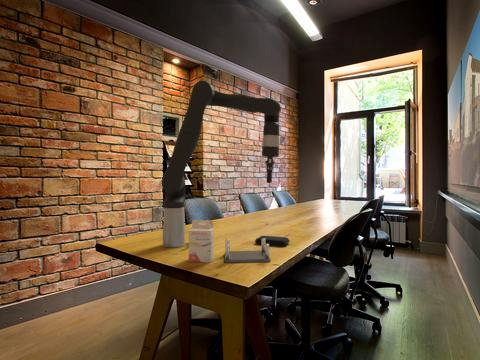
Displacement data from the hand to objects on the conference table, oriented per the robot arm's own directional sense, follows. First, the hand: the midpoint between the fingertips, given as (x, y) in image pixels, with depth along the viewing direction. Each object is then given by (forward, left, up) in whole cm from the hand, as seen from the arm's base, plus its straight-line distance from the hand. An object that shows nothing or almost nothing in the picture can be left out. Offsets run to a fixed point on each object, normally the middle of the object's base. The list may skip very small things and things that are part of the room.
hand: (269, 182), depth 126 cm
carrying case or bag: (+2, +4, -29) cm, 29 cm away
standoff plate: (-12, -18, -28) cm, 36 cm away
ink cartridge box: (-29, -20, -29) cm, 45 cm away
